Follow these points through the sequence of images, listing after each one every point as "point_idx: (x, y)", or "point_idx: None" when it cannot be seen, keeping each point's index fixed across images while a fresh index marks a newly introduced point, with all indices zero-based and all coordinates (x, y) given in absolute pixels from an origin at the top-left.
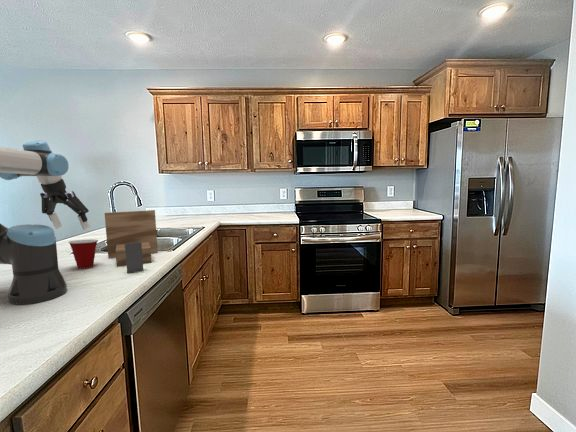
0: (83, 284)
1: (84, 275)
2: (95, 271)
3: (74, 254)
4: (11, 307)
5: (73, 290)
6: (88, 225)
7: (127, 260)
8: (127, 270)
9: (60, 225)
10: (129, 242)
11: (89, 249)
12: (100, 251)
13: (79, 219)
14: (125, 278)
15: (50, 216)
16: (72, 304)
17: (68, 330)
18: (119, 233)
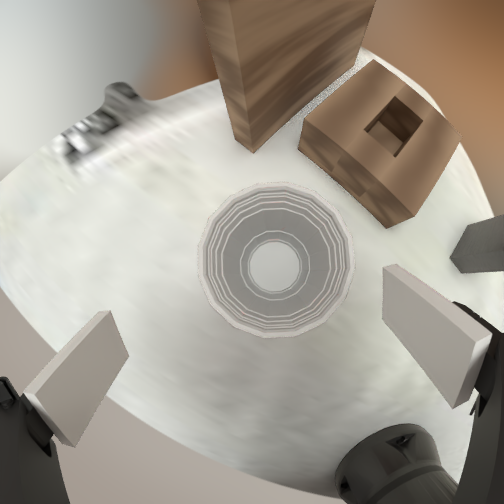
0: (425, 388)
1: (367, 341)
2: (364, 296)
3: (267, 309)
4: None
5: (431, 418)
6: (403, 274)
7: (487, 269)
8: (467, 272)
9: (109, 325)
10: (309, 73)
11: (328, 271)
12: (136, 106)
13: (438, 378)
14: (481, 307)
15: (76, 438)
16: (469, 441)
17: None
18: (288, 60)
